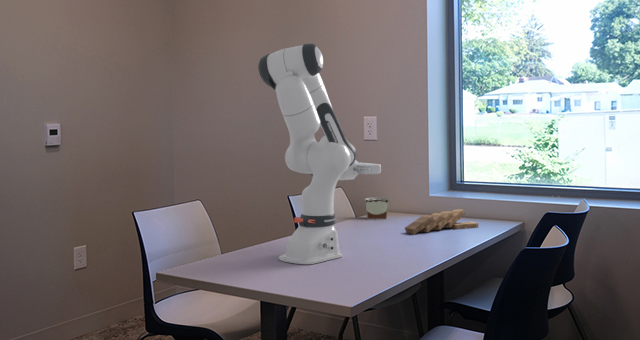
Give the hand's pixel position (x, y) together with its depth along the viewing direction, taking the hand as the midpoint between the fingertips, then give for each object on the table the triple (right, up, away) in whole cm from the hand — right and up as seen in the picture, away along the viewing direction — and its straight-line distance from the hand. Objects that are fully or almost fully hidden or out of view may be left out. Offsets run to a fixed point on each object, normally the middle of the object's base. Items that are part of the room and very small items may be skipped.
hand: (378, 167), depth 213 cm
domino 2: (+19, -26, +10) cm, 34 cm away
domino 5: (+34, -26, +18) cm, 46 cm away
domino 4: (+31, -25, +17) cm, 43 cm away
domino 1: (+13, -27, +7) cm, 31 cm away
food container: (+4, -25, +49) cm, 56 cm away
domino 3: (+25, -26, +13) cm, 38 cm away
